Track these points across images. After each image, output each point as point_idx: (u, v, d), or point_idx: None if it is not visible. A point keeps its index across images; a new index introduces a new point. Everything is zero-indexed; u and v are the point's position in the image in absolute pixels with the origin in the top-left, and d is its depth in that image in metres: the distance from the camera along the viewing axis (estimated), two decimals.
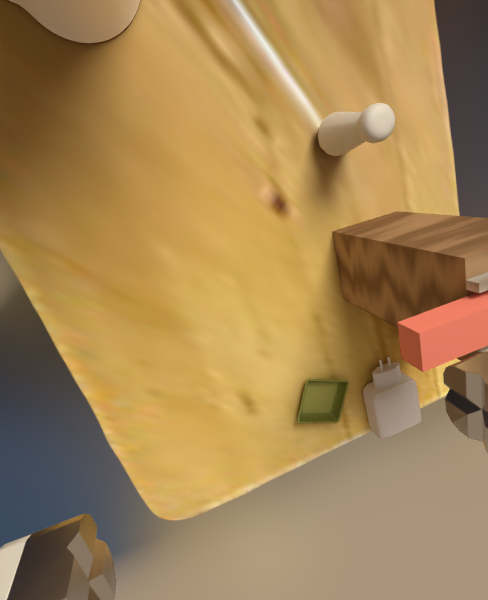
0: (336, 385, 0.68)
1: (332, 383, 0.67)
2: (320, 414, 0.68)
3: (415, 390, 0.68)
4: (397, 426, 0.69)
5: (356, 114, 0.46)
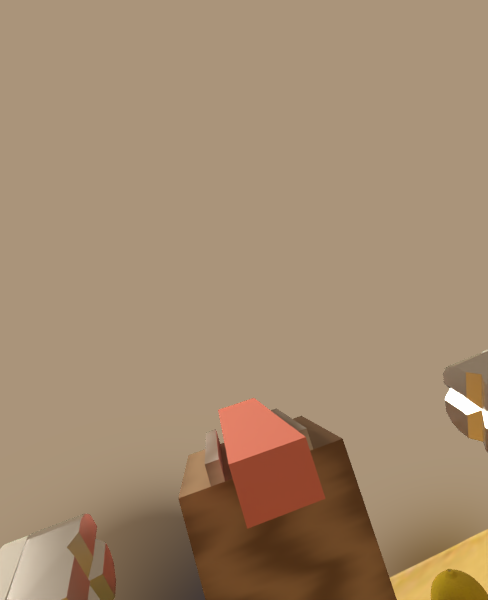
0: None
1: None
2: None
3: None
4: None
5: None
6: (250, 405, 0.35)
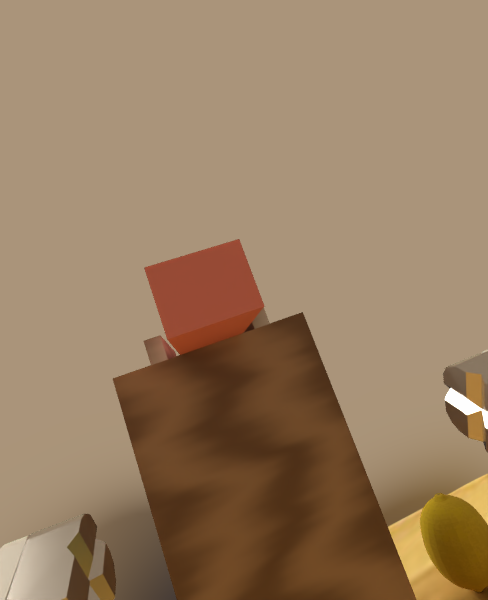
0: None
1: None
2: None
3: None
4: None
5: None
6: None
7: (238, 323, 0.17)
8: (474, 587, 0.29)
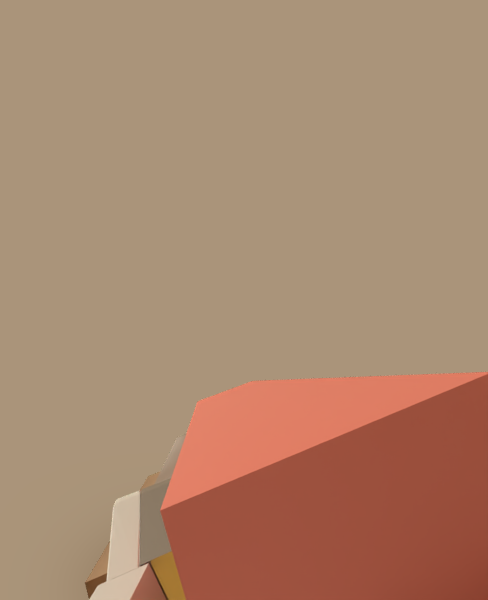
0: None
1: None
2: None
3: None
4: None
5: None
6: (248, 386, 0.21)
7: None
8: None
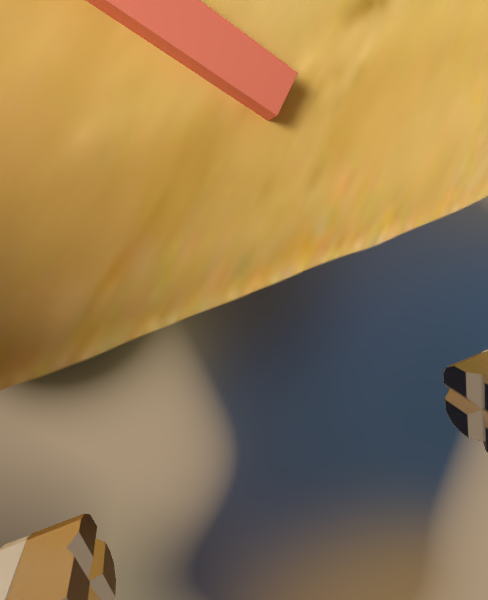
0: None
1: None
2: None
3: None
4: None
5: None
6: None
7: None
8: None
